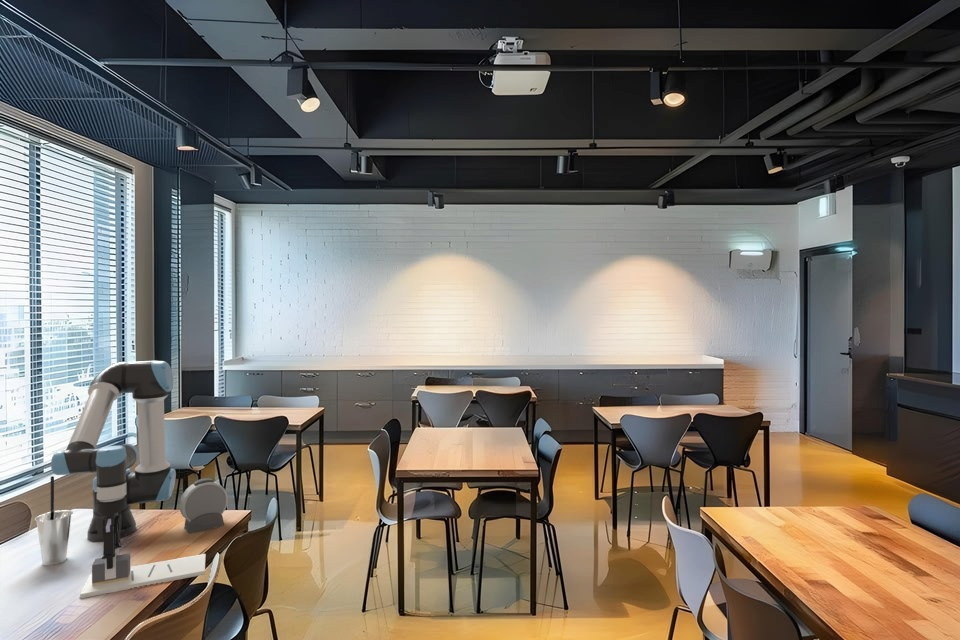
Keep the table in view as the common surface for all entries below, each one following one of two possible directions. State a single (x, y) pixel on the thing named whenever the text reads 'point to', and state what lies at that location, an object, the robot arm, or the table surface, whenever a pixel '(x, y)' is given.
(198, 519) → the alarm clock
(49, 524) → the metal cup with straw
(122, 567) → the block
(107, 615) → the table surface
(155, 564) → the board
